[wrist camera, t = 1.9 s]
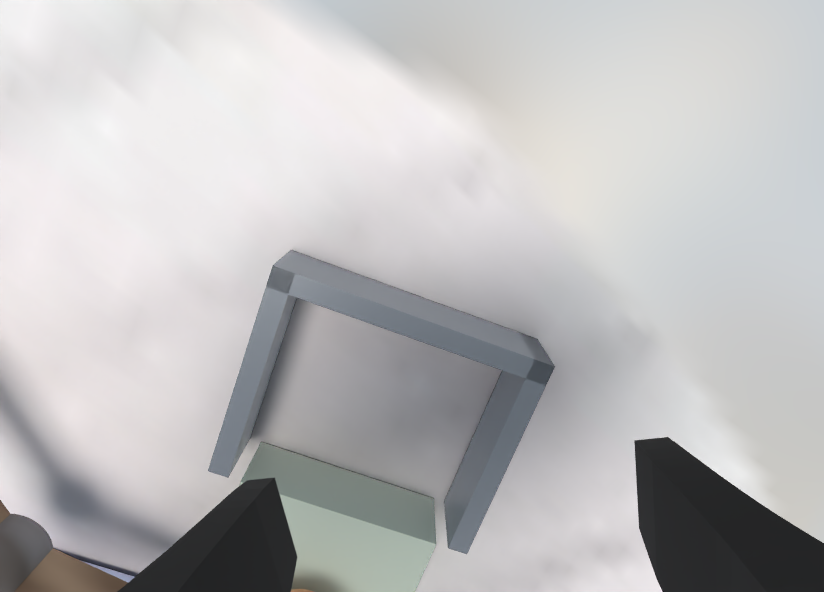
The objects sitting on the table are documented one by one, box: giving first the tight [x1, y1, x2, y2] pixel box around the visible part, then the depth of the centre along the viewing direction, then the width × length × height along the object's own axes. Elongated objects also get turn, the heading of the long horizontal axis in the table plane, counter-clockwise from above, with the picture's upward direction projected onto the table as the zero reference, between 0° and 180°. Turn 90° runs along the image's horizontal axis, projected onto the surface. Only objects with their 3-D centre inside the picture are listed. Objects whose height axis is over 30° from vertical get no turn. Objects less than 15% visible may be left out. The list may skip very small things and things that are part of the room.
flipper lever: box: [0, 500, 128, 592], centre depth 20 cm, size 23×6×3 cm, turn 44°
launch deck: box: [240, 442, 436, 592], centre depth 24 cm, size 8×7×3 cm
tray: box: [208, 250, 555, 554], centre depth 22 cm, size 11×8×3 cm
